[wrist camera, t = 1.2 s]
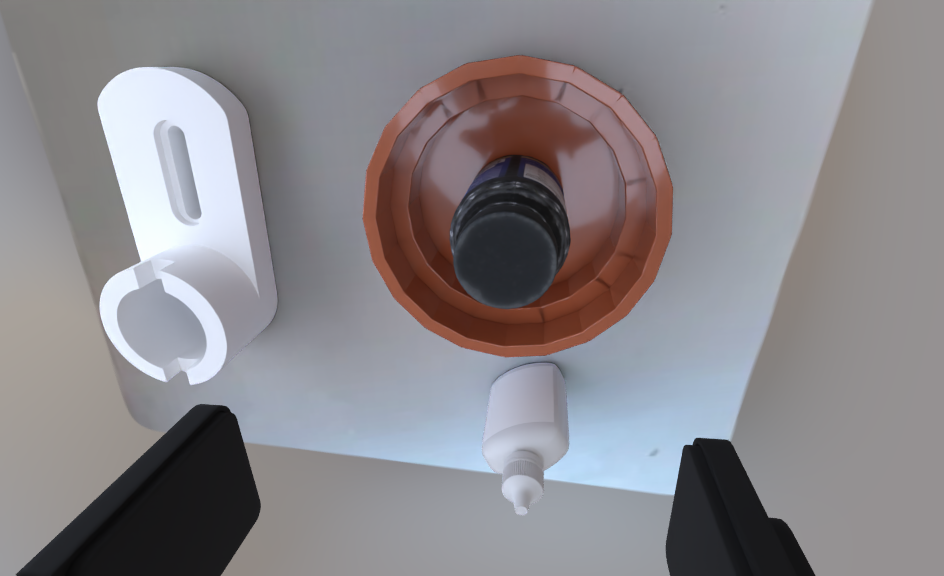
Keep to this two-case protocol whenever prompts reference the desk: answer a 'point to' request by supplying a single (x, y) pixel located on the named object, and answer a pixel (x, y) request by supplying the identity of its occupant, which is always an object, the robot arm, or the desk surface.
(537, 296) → the pill bottle
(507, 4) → the desk surface
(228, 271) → the bracket
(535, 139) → the bowl
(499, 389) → the eye dropper bottle
